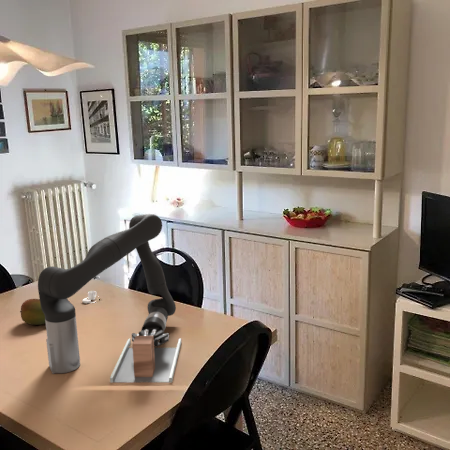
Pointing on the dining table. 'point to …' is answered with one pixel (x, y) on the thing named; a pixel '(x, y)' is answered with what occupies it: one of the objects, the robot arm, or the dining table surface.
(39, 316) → the fruit
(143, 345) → the terracotta block
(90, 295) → the teacup and saucer
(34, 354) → the dining table surface
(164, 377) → the track
